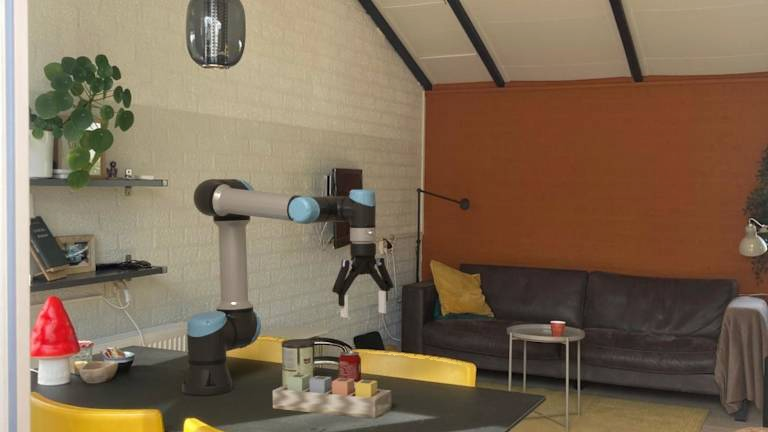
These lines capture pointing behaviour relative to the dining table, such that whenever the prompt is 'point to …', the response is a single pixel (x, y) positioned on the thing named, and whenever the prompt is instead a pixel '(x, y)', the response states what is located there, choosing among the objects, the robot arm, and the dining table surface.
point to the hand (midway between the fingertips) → (363, 315)
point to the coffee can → (297, 358)
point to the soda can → (350, 366)
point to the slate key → (320, 384)
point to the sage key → (298, 382)
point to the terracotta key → (343, 386)
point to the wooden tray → (332, 402)
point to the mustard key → (366, 388)
